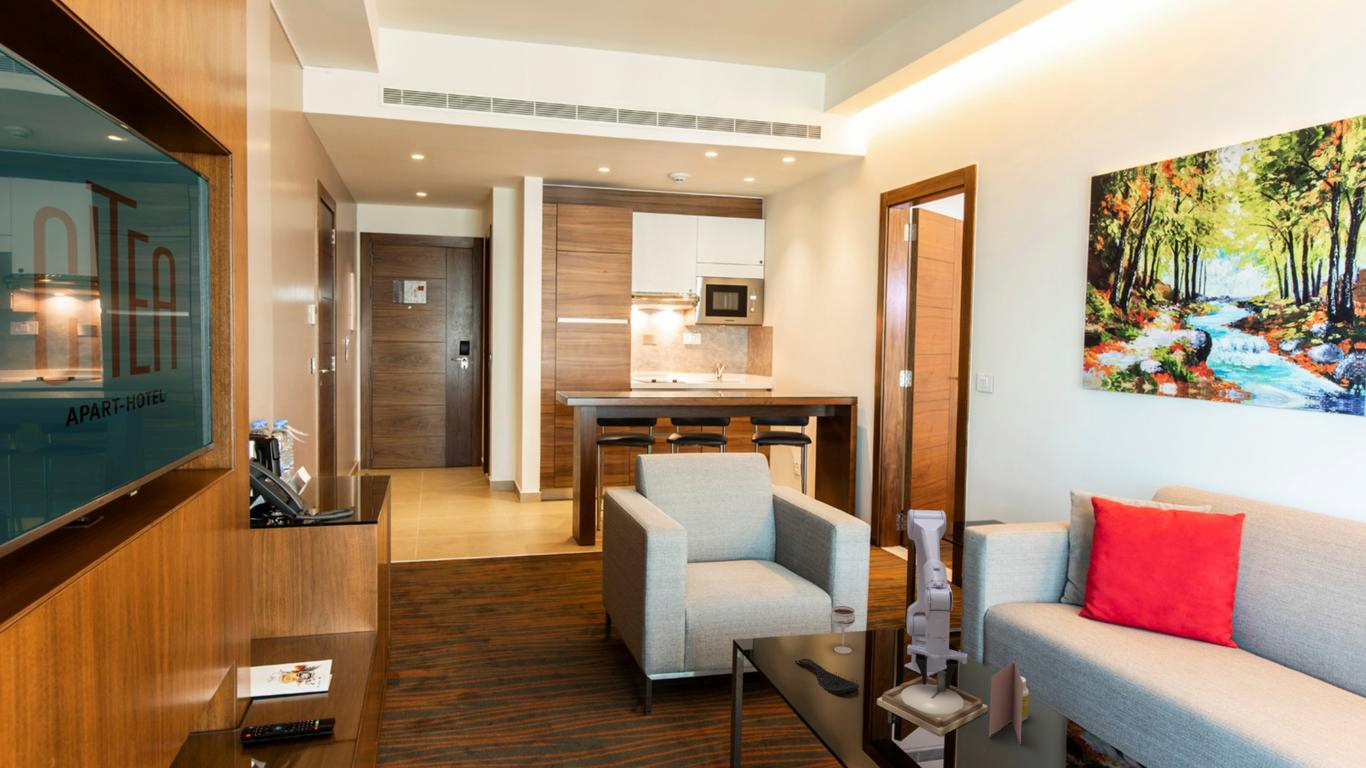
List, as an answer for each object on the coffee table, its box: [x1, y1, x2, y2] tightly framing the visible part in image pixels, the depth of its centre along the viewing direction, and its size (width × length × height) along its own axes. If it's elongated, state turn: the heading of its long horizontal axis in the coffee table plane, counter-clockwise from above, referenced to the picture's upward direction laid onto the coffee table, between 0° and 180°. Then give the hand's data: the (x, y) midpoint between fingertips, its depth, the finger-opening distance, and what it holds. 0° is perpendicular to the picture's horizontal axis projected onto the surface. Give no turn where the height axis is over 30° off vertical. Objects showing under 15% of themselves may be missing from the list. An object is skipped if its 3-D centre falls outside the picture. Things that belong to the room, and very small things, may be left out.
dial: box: [901, 670, 964, 717], centre depth 208 cm, size 15×15×5 cm
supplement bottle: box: [1020, 675, 1030, 720], centre depth 204 cm, size 5×5×10 cm
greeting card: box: [988, 661, 1023, 745], centre depth 195 cm, size 11×7×15 cm, turn 133°
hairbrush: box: [798, 658, 860, 694], centre depth 225 cm, size 8×4×25 cm
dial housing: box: [876, 675, 989, 737], centre depth 208 cm, size 19×19×3 cm
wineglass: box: [831, 605, 856, 654], centre depth 242 cm, size 7×7×12 cm
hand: (936, 685), depth 213 cm, fingers open, 5 cm apart
